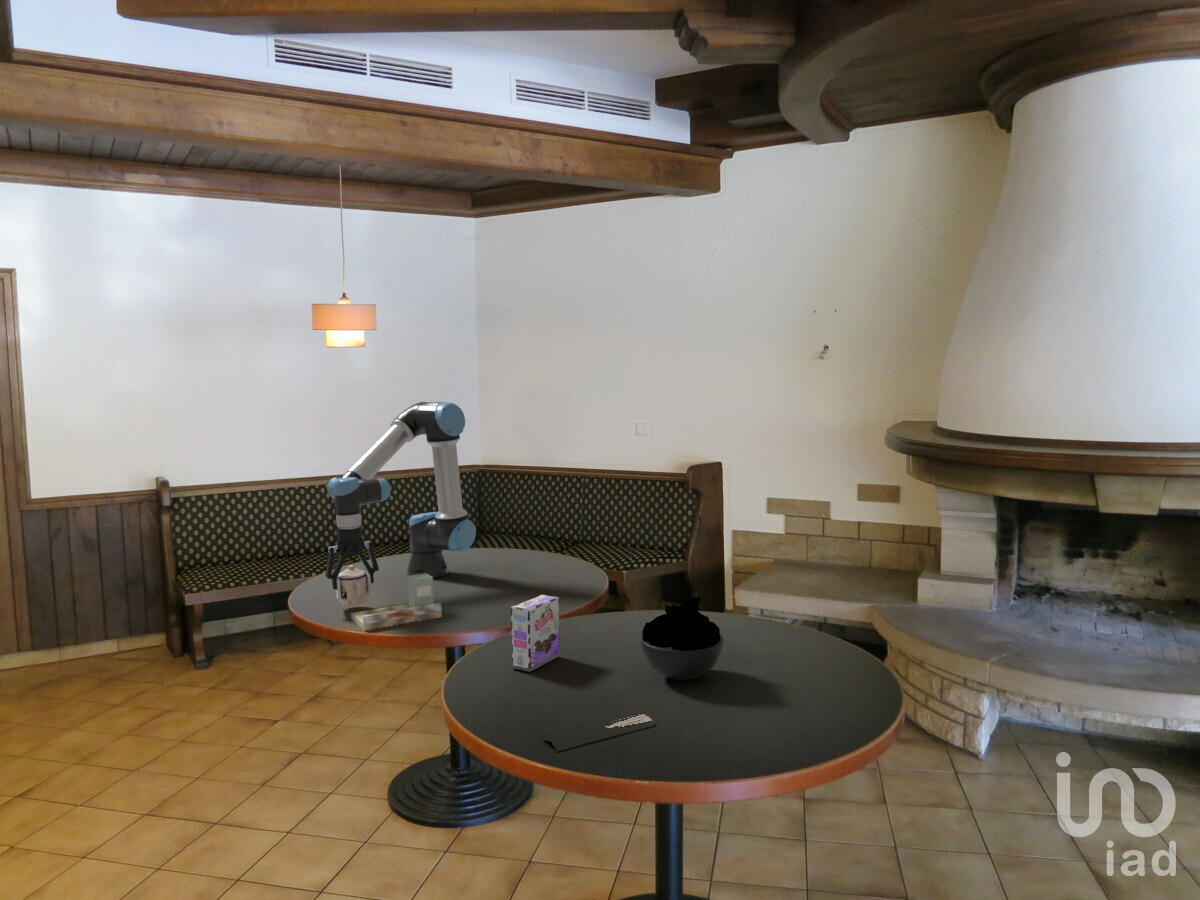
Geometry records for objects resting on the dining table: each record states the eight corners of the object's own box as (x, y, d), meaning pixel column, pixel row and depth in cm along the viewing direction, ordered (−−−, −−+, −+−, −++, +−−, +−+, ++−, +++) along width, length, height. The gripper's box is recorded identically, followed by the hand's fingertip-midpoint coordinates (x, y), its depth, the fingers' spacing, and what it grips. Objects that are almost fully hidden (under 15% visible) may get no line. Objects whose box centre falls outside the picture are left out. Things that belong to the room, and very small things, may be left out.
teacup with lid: (335, 600, 272) (332, 565, 271) (362, 595, 277) (360, 560, 276) (346, 609, 262) (343, 573, 261) (374, 603, 267) (372, 568, 266)
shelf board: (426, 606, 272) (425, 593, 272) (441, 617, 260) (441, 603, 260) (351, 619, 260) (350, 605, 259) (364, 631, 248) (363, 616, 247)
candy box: (530, 674, 211) (528, 609, 209) (511, 669, 214) (509, 606, 212) (561, 657, 222) (560, 596, 221) (543, 653, 226) (541, 593, 224)
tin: (427, 604, 268) (426, 573, 267) (434, 608, 263) (432, 577, 262) (409, 607, 265) (407, 575, 264) (415, 611, 260) (414, 579, 259)
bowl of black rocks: (665, 699, 193) (664, 618, 191) (627, 671, 211) (626, 597, 210) (739, 684, 201) (739, 607, 199) (697, 658, 219) (696, 587, 217)
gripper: (379, 520, 275) (384, 587, 278) (311, 529, 264) (316, 599, 267) (386, 524, 269) (391, 592, 271) (316, 533, 258) (322, 605, 260)
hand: (354, 596), depth 269 cm, fingers closed on teacup with lid, 9 cm apart
